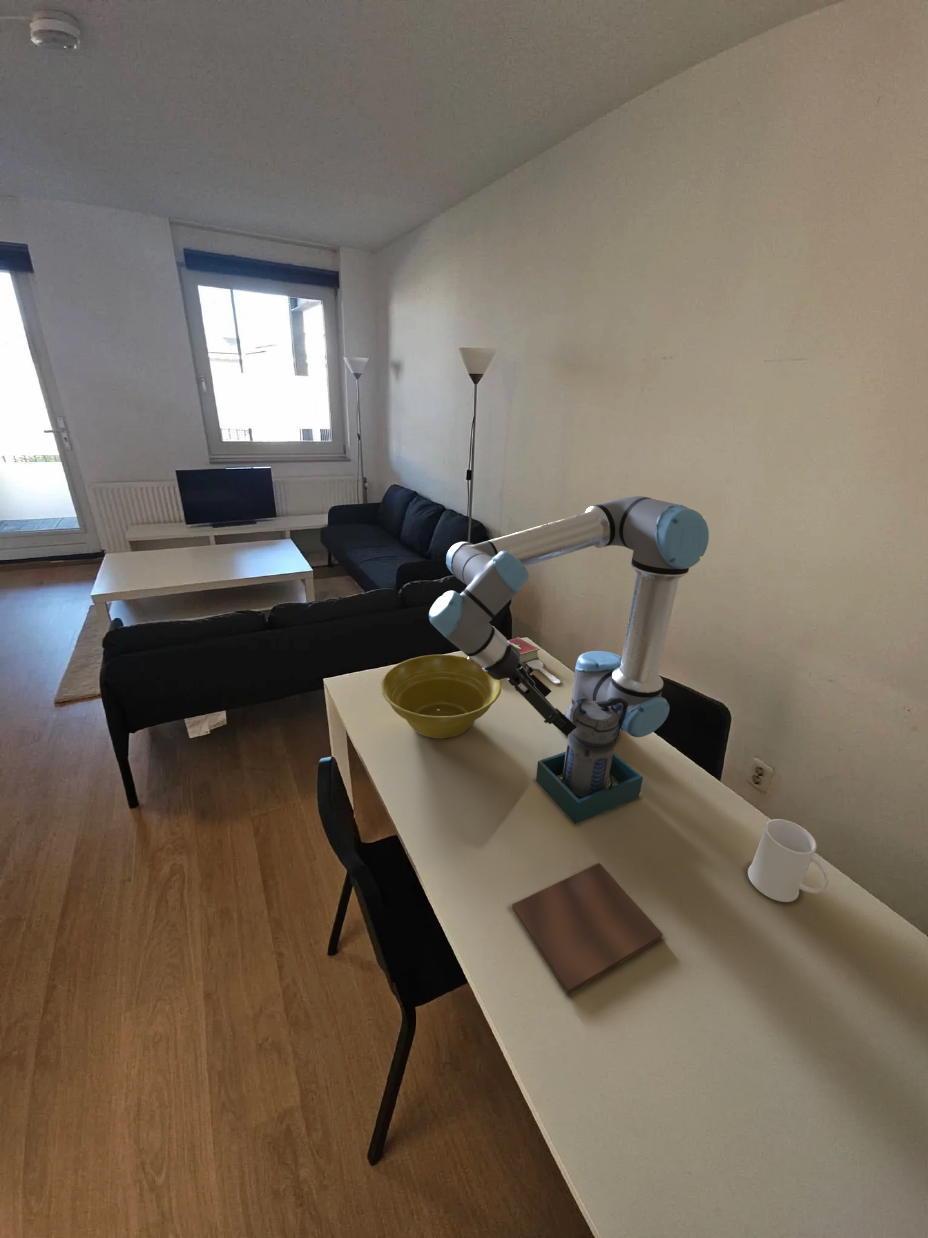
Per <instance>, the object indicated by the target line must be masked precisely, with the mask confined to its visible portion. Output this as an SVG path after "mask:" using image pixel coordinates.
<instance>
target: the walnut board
mask: <svg viewBox="0 0 928 1238" xmlns="http://www.w3.org/2000/svg"><path fill="white" fill-rule="evenodd" d="M511 909H512V911H513V912H514V914H515V915H516V917H517V918H518V920H519V922H520V923H521V925H522V926H523V928H524V929H525V931H526V933H527V935H528V937H530V939H531V941H532V942H533V943H534V945H535V947H536V948H537V950H538V952H539V953H540V954H541V957H543V959H544V960H545V962H546V963H547V966H548V967H549V969H550V970H551V971H552V973H553V974H554V977H556V979H557V981H558V982H559V984H560V985H561V987H562V989H563V990H564V992H565V993H566V995H567V996H569V995H571V994H573V993H574V992H576V991H577V990H579V989H581V988H583V987H585V986H586V985H588V984H590V983H591V982H593V981H595V980H596V979H598V978H599V977H601V976H603V975H604V974H606V973H608V972H610V971H611V970H613V969H614V968H616V967H617V966H619V965H621V964H622V963H624V962H626V961H628V960H629V959H631V958H633V957H634V956H636V955H638V954H639V953H641V952H642V951H644V950H646V949H648V948H649V947H651V946H652V945H655V944H656V943H657V942H659V941H661V940H662V939H663V936H664V934H663V933H662V931H661V930H660V929H659V928H658V927H657V926H656V924H655V923H654V922H653V921H652V920H651V919H650V918H649V917H648V916H647V915H646V913H645V912H644V911H643V910H642V908H640V906H638V904H637V903H636V902H635V901H634V900H633V898H631V897H630V895H629V894H628V893H627V892H626V891H625V890H624V889H623V887H622V886H621V885H620V884H619V883H618V882H617V880H615V878H614V877H613V876H612V874H610V873H609V872H608V871H607V869H606V868H605V867H604V866H603V864H601V863H600V862H598V863H596V864H594V865H591V866H590V867H588V868H586V869H583V870H581V871H579V872H577V873H575V874H573V875H571V876H568V877H566V878H564V879H562V880H559V881H558V882H556V883H554V884H552V885H549V886H548V887H545V888H544V889H541V890H539V891H537V892H534V893H532V894H530V895H528V896H526V897H524V898H522V899H520V900H518V901H515V902H514V903H512V905H511Z"/></svg>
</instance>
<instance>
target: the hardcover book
mask: <svg viewBox="0 0 928 1238" xmlns="http://www.w3.org/2000/svg"><path fill="white" fill-rule="evenodd" d="M507 641H509V642H510V643H511V644H512V645H513V646H514V647H516V648H517V649H518V650H519V652H520V661H521V662H522V663H523V664H526V662H529V661H532V660H536V659H537V660H539V659H540V658H539V657H538V653H539V651H540V648H538V647H537V646H535V645H534V644H532V643H530V642H528V641H526V640H525V639H523V638H521V637H519V636H517V637H514V638H511V639H507Z"/></svg>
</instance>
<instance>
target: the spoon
mask: <svg viewBox="0 0 928 1238" xmlns="http://www.w3.org/2000/svg"><path fill="white" fill-rule="evenodd" d="M525 665H526V666H527V667H528V668H529V667H531V668H532V669H533V670H538V671H540V672H541V673H542V674H543V675H544V676H545V677H546V678H547V679H548V680H549V681H550V682H551V683H553V684H554V685H560V684H561V680H560V679H558V678H557V677H556V676H555V675H553V674H552V673H550V672H549V671H548V670H546V669H545V668H544V663H543V662H542V661H541V660H539V659H536V660H532V661H529V662H526V663H525Z"/></svg>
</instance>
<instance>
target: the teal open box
mask: <svg viewBox="0 0 928 1238" xmlns="http://www.w3.org/2000/svg"><path fill="white" fill-rule="evenodd" d="M565 755H566V751H563V752H560V753H557V754H555V755H552V756H549V757H546V758H543V759H540V760H537V767H536V774H535V782H536V783H537V785H538V786H539V787H540V788H541V789H542V790H543V791H544V792H545V793H546V794H547V796H548V797H549V798H550V799H551V800H552V801H553V802H554V804H556V805H557V806H558V808H559V809H560V810H561V811H562V812H563V813H564V814H565V815H566V816H567V817H568V819H569V820H570V821H571V822H572V823H573V824H574V825H577V824H580V823H582V822H584V821H587V820H589V819H591V818H594V817H596V816H599V815H601V814H603V813H605V812H608V811H610V810H613V809H615V808H617V807H620V806H622V805H625V804H627V803H630V802H631V801H634V800H637V799H639V798H640V794H641V790H642V785H643V781H644V776H643V775H642V774H640V773H639V772H638V771H637V770H635V769H634V767H632V766H631V765H630V764H629V763H627V762H626V761H625V760H623V759H622V758H621V757H620V756H619V755H617V754H616V753H615V751H614V752H613V757H612V764H613V766H614V767H613V766H612V765H611V767H610V773H609V776H611V777H610V780H609V786H608V787H607V789H604V790H601V791H599V792H596V793H594V794H591V795H589V796H586V797H584V798H581V799H578V798H577V797H576V796H575V795H574V794H573V793H572V792H571V791H570V790H569V789H568V788H567V787H566V786H565V785H564V784H563V783H562V780H561V779H560V778H558V777H559V776H563V769H564V762H565ZM615 781H616V782H617V784H615Z"/></svg>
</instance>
